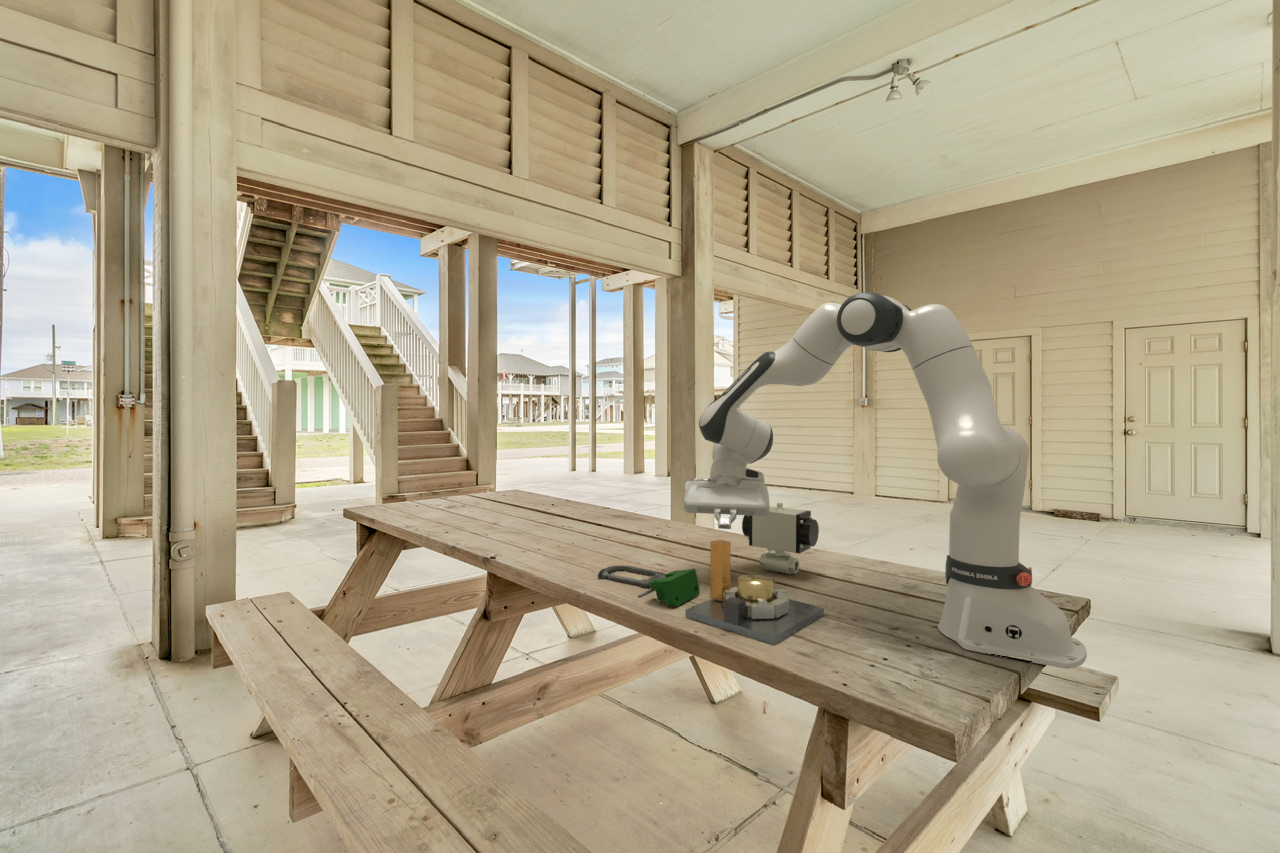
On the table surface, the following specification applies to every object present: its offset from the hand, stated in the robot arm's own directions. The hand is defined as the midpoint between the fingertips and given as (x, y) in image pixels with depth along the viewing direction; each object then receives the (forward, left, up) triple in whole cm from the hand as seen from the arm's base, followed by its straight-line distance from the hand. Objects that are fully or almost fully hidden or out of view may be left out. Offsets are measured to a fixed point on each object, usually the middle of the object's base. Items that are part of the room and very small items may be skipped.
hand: (724, 527), depth 132 cm
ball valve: (-2, -22, -15) cm, 27 cm away
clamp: (+5, +13, -15) cm, 20 cm away
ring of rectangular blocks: (-12, +10, -13) cm, 20 cm away
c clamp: (+21, +9, -15) cm, 28 cm away
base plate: (-14, +10, -15) cm, 22 cm away
